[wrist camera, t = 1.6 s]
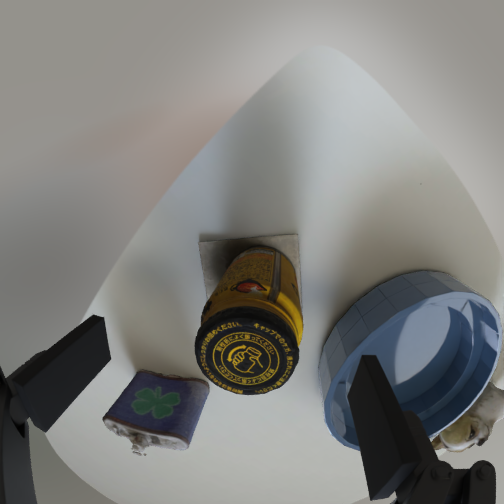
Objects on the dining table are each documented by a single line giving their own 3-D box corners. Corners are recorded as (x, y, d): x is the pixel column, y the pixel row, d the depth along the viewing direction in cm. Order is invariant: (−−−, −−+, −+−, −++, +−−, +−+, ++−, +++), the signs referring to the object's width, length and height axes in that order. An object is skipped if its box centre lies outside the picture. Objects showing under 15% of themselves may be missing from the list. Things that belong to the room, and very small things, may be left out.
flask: (209, 379, 28) (180, 454, 17) (211, 397, 28) (186, 470, 18) (134, 366, 29) (89, 426, 18) (139, 385, 29) (99, 444, 19)
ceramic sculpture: (518, 431, 17) (430, 485, 21) (497, 396, 25) (419, 444, 29) (527, 392, 15) (422, 461, 19) (497, 355, 24) (407, 412, 28)
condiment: (302, 313, 25) (313, 406, 13) (211, 317, 26) (166, 403, 14) (297, 233, 23) (313, 282, 11) (199, 241, 24) (131, 291, 12)
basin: (340, 259, 23) (357, 282, 17) (492, 276, 22) (525, 295, 16) (302, 417, 28) (303, 455, 22) (436, 409, 26) (452, 439, 21)
